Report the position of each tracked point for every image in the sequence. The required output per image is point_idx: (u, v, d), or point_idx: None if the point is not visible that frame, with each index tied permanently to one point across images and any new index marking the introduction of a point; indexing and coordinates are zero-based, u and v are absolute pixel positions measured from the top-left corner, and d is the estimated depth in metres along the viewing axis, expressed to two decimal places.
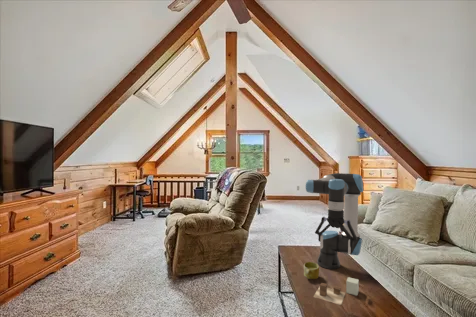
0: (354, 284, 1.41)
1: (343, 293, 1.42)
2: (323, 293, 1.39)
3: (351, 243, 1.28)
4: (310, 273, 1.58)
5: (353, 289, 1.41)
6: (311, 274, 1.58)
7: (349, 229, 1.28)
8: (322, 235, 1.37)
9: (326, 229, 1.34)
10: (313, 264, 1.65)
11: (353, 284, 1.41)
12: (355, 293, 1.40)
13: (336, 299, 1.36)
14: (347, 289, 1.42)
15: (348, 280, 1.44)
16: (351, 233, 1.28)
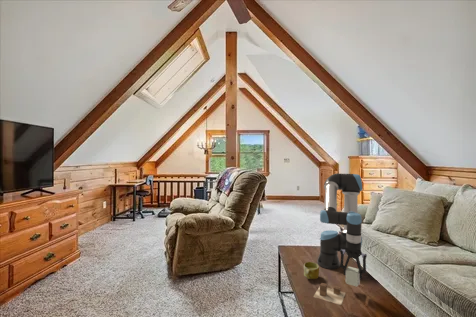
0: (354, 273, 1.41)
1: (343, 293, 1.42)
2: (323, 293, 1.39)
3: (360, 275, 1.41)
4: (310, 273, 1.58)
5: (353, 278, 1.41)
6: (311, 274, 1.58)
7: (363, 262, 1.40)
8: None
9: (348, 261, 1.44)
10: (313, 264, 1.65)
11: (353, 273, 1.41)
12: (355, 282, 1.41)
13: (336, 299, 1.36)
14: (347, 278, 1.43)
15: (348, 269, 1.44)
16: (363, 266, 1.40)
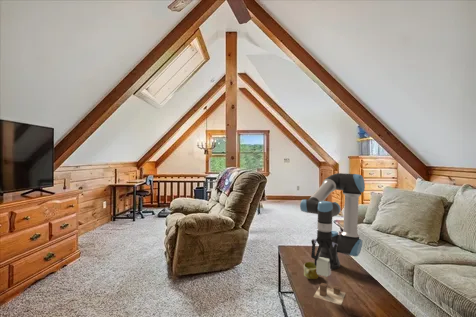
0: (325, 263, 1.37)
1: (343, 293, 1.42)
2: (323, 293, 1.39)
3: (331, 265, 1.37)
4: (310, 273, 1.58)
5: (324, 268, 1.37)
6: (311, 274, 1.58)
7: (333, 251, 1.36)
8: None
9: (319, 251, 1.40)
10: (313, 264, 1.65)
11: (324, 263, 1.37)
12: (326, 272, 1.36)
13: (336, 299, 1.36)
14: (318, 268, 1.39)
15: (319, 259, 1.40)
16: (333, 255, 1.36)
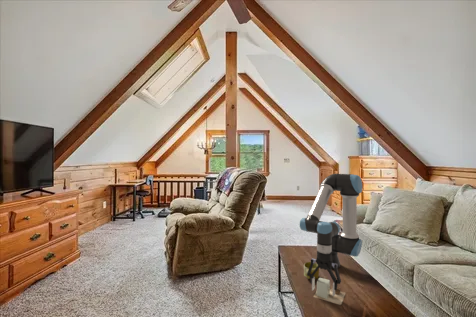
0: (324, 285, 1.37)
1: (343, 293, 1.42)
2: None
3: (335, 286, 1.36)
4: None
5: (323, 290, 1.37)
6: None
7: (335, 272, 1.36)
8: (314, 277, 1.43)
9: (316, 271, 1.41)
10: None
11: (323, 285, 1.37)
12: (325, 294, 1.37)
13: (336, 299, 1.36)
14: (317, 290, 1.39)
15: (319, 280, 1.40)
16: (336, 276, 1.36)
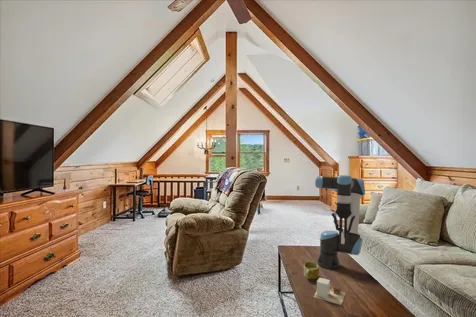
0: (324, 285, 1.37)
1: (343, 293, 1.42)
2: None
3: (345, 234, 1.48)
4: (310, 273, 1.58)
5: (323, 290, 1.37)
6: (311, 274, 1.58)
7: (350, 222, 1.46)
8: (343, 231, 1.49)
9: (341, 222, 1.48)
10: (313, 264, 1.65)
11: (323, 285, 1.37)
12: (325, 294, 1.37)
13: (336, 299, 1.36)
14: (317, 290, 1.39)
15: (319, 280, 1.40)
16: (349, 225, 1.46)
